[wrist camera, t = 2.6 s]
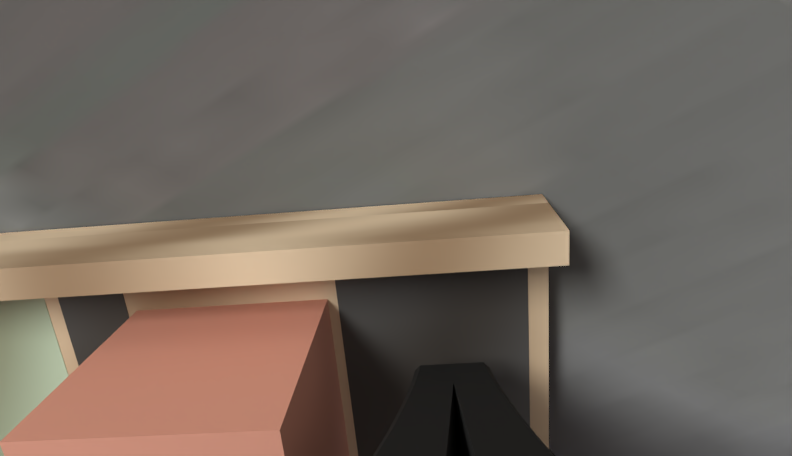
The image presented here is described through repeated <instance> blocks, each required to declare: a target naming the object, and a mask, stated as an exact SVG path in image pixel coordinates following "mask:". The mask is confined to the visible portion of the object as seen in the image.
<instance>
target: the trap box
mask: <svg viewBox="0 0 792 456" xmlns="http://www.w3.org/2000/svg"><path fill="white" fill-rule="evenodd" d="M569 234H570V231H569V229H568V228H567V227H566V225H565V224H564V223H563V221H562V220H561V219H560V217H559V216H558V215H557V213H556V212H555V211H554V209H553V208H552V207H551V205H550V204H549V203H548V201H547V200H546V199H545V198H544V196H543V195H542V194H539V195H525V196H511V197H497V198H483V199H469V200H455V201H441V202H427V203H413V204H399V205H385V206H372V207H358V208H344V209H330V210H316V211H302V212H288V213H274V214H260V215H246V216H232V217H218V218H205V219H191V220H177V221H163V222H149V223H135V224H121V225H107V226H93V227H79V228H65V229H52V230H38V231H24V232H10V233H0V441H1V440H2V439H3V438H4V437H5V436H6V435H7V434H8V433H9V432H11V431H12V430H13V429H14V428H15V427H16V426H17V425H18V424H19V423H20V422H21V421H22V420H23V419H24V418H25V417H26V416H27V415H28V414H29V413H30V412H31V411H32V410H34V409H35V408H36V407H37V406H38V405H39V404H40V403H41V402H42V401H43V400H44V399H45V398H46V397H47V396H48V395H49V394H50V393H51V392H52V391H53V390H54V389H56V388H57V387H58V386H59V385H60V384H61V383H62V382H63V381H64V380H65V379H66V378H67V377H68V376H69V375H70V374H71V373H72V372H73V371H74V370H75V369H76V368H77V367H79V366H80V365H81V364H82V363H83V362H84V361H85V360H86V359H87V358H88V357H89V356H90V355H91V354H92V353H93V352H94V351H95V350H96V349H97V348H98V347H99V346H100V345H102V344H103V343H104V342H105V341H106V340H107V339H108V338H109V337H110V336H111V335H112V334H113V333H114V332H115V331H116V330H117V329H118V328H119V327H120V326H121V325H122V324H123V323H125V322H126V321H127V320H128V319H129V318H130V317H131V316H132V315H133V314H134V313H135V312H136V311H139V310H155V309H172V308H188V307H205V306H221V305H238V304H255V303H271V302H288V301H304V300H321V299H328V306H329V313H330V320H331V327H332V334H333V342H334V349H335V356H336V363H337V370H338V377H339V384H340V392H341V399H342V406H343V413H344V420H345V427H346V435H347V442H348V449H349V456H373V454H374V453H375V451H376V450H377V448H378V447H379V445H380V443H381V442H382V440H383V439H384V437H385V435H386V434H387V432H388V430H389V428H390V426H391V424H392V422H393V421H394V419H395V417H396V415H397V413H398V411H399V409H400V407H401V405H402V403H403V401H404V399H405V397H406V394H407V392H408V390H409V387H410V385H411V382H412V379H413V376H414V372H415V370H416V369H417V368H418V367H419V366H420V365H438V364H457V363H477V362H484V363H485V364H486V365H487V366H488V367H490V370H491V372H492V373H493V375H494V377H495V379H496V380H497V382H498V384H499V385H500V387H501V388H502V390H503V391H504V393H505V394H506V396H507V397H508V399H509V400H510V401H511V403H512V404H513V406H514V407H515V408H516V410H517V411H518V412H519V414H520V415H521V416H522V417H523V419H524V420H525V421H526V422H527V424H528V425H529V426H530V427H531V429H532V430H533V431H534V432H535V434H536V435H537V436H538V437H539V438H540V439H541V441H542V442H543V443H544V444H545V445H546V446H547V447H548V448H549V267H551V266H567V265H569ZM0 456H4V454H3V451H2V449H1V446H0Z"/></svg>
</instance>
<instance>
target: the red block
mask: <svg viewBox="0 0 792 456" xmlns="http://www.w3.org/2000/svg"><path fill="white" fill-rule="evenodd" d="M0 446H1V449H2V451H3V454H4V456H349V449H348V442H347V435H346V427H345V420H344V413H343V406H342V399H341V392H340V384H339V377H338V370H337V363H336V356H335V349H334V342H333V334H332V327H331V320H330V313H329V306H328V299H321V300H304V301H288V302H271V303H255V304H238V305H221V306H205V307H188V308H172V309H155V310H139V311H136V312H135V313H134V314H133V315H132V316H131V317H130V318H129V319H128V320H127V321H126V322H125V323H123V324H122V325H121V326H120V327H119V328H118V329H117V330H116V331H115V332H114V333H113V334H112V335H111V336H110V337H109V338H108V339H107V340H106V341H105V342H104V343H103V344H102V345H100V346H99V347H98V348H97V349H96V350H95V351H94V352H93V353H92V354H91V355H90V356H89V357H88V358H87V359H86V360H85V361H84V362H83V363H82V364H81V365H80V366H79V367H77V368H76V369H75V370H74V371H73V372H72V373H71V374H70V375H69V376H68V377H67V378H66V379H65V380H64V381H63V382H62V383H61V384H60V385H59V386H58V387H57V388H56V389H54V390H53V391H52V392H51V393H50V394H49V395H48V396H47V397H46V398H45V399H44V400H43V401H42V402H41V403H40V404H39V405H38V406H37V407H36V408H35V409H34V410H32V411H31V412H30V413H29V414H28V415H27V416H26V417H25V418H24V419H23V420H22V421H21V422H20V423H19V424H18V425H17V426H16V427H15V428H14V429H13V430H12V431H11V432H9V433H8V434H7V435H6V436H5V437H4V438H3V439H2V440H1V441H0Z"/></svg>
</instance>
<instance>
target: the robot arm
mask: <svg viewBox="0 0 792 456" xmlns="http://www.w3.org/2000/svg"><path fill="white" fill-rule="evenodd" d="M373 456H555V455H554V454H553V453H552V452H551V451H550V450H549V448H548V447H547V446H546V445H545V444H544V443H543V442H542V441H541V439H540V438H539V437H538V436H537V435H536V434H535V432H534V431H533V430H532V429H531V427H530V426H529V425H528V424H527V422H526V421H525V420H524V419H523V417H522V416H521V415H520V414H519V412H518V411H517V410H516V408H515V407H514V406H513V404H512V403H511V401H510V400H509V399H508V397H507V396H506V394H505V393H504V391H503V390H502V388H501V387H500V385H499V384H498V382H497V380H496V379H495V377H494V375H493V373H492V372H491V370H490V367H488V366H487V365H486V364H485V363H484V362H477V363H457V364H438V365H420V366H419V367H418V368H417V369H416V370H415V372H414V376H413V379H412V382H411V385H410V387H409V390H408V392H407V394H406V397H405V399H404V401H403V403H402V405H401V407H400V409H399V411H398V413H397V415H396V417H395V419H394V421H393V422H392V424H391V426H390V428H389V430H388V432H387V434H386V435H385V437H384V439H383V440H382V442H381V443H380V445H379V447H378V448H377V450H376V451H375V453H374V454H373Z"/></svg>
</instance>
